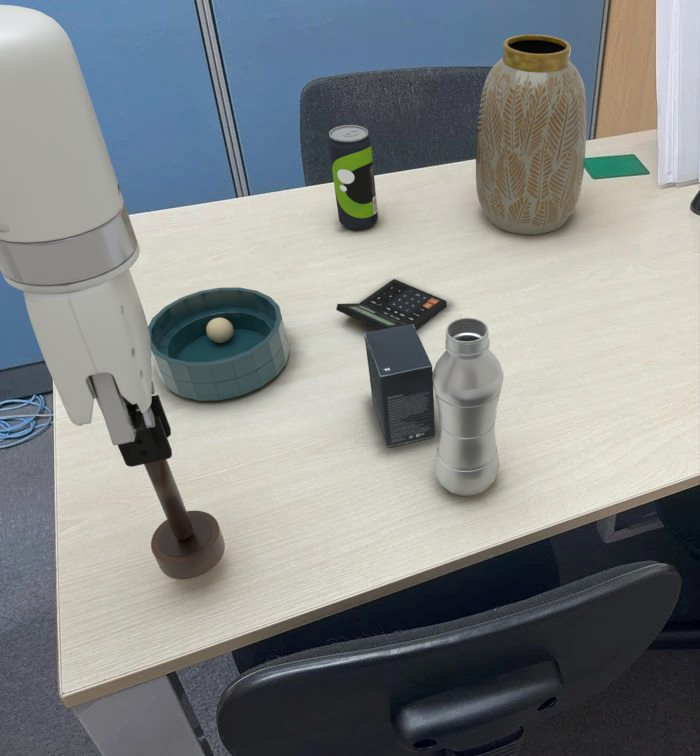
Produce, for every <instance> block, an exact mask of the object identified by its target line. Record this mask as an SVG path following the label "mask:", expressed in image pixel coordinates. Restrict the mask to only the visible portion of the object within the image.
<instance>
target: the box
mask: <svg viewBox="0 0 700 756" xmlns="http://www.w3.org/2000/svg"><path fill="white" fill-rule="evenodd" d="M363 336H364V343H365V351H366V360H367V367H368V375H369V383H370V392H371V401H372V406H373V408H374V411H375V416H376V417H377V421H378V424H379V427H380V430H381V432H382V436H383V438H384V442H385V444H386V447H388V448H391V447H395V446H400V445H405V444H408V443H409V444H410V443H414V442H418V441H422V440H426V439H431V438H434V437H435V436H436V426H435V425H436V424H435V398H434V397H435V394H434V387H433V380H432V374H433V371H434V370H433V364H432V362H431V360H430V358H429V356H428V353H427V351H426V349H425V347H424V344H423V343H422V340H421V338H420V336H419V334H418V332H417V330H416V329H415V327H414V325H413V324H410V325H404V326H399V327H393V328H388V329H382V330H378V329H376V330H371V331H365V332H364V334H363Z"/></svg>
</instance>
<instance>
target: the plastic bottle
mask: <svg viewBox="0 0 700 756" xmlns="http://www.w3.org/2000/svg"><path fill="white" fill-rule="evenodd" d="M445 329H446V330H445V344H444V346H445V351H444V352H443V353H442V354H441V356H440V357H439V358H438V360H437V361H436V363H435V365H434V367H433V370H432V371H433V374H432V380H433V392H434V397H435V399H436V404H437V410H438V418H439V436H438V446H437V449H436V452H435V456H434V457H435V458H434V466H433V467H434V470H435V474H436V477H437V481H438V483H439V484H440V485H441V486H442V487H443V488H444V489H445V490H446V491H448V492H450V493H452V494H454V495H457V496H461V497H462V496H463V497H470V496H476V495H478V494H480V493H482V492H484V491H486V490H487V489H488V488H490V487H491V486H492V485H493V484H494V482H495V480H496V478H497V475H498V472H499V470H500V469H499V468H500V457H499V451H498V448H497V447H498V446H497V441H496V418H497V410H498V405H499V400H500V395H501V392H502V388H503V383H504V371H503V368H502V365H501V362H500V360H499V359H498V357H496V356H495V354H494V353H493V352H492V350H490V338H489V328H488V325H487V324H486V323H485V322H484V321H482V320H481V319H477V318H473V317H461V318H458V319H455V320H453V321H451V322H450V323H448V325H447V327H446V328H445Z"/></svg>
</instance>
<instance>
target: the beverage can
mask: <svg viewBox="0 0 700 756" xmlns="http://www.w3.org/2000/svg"><path fill="white" fill-rule="evenodd" d="M328 136H329V137H328V138H327V139H328V140H327V144H328V151H329V157H330V164H331V172H332V178H333V180H332V181H333V186H334V194H335V201H336V208H337V215H338V221H339V223H340V225H342V226H343V227H344V228H345V229H347V230H349V231H354V232H361V231H366V230H369V229H372V228H373V227H374V226H375V225H376V224H377V222H378V220H379V214H378V213H379V212H378V211H379V210H378V203H377V202H378V201H377V190H376V181H375V171H374V159H373V151H372V140H371V137H370V136H369V131H368V129H367V128H366V127H363V126H361V125H356V124H346V125H345V124H344V125H339V126H335V127H333V128H332V129H330V130H329V132H328Z"/></svg>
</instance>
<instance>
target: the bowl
mask: <svg viewBox="0 0 700 756" xmlns="http://www.w3.org/2000/svg"><path fill="white" fill-rule="evenodd" d="M215 318H224V319H227V320H228V321H229V322H230V323H231V324H232V326H233V330H234V332H233V336H232V337H231V339H230V340H228V341H227V342H224V343H216V342H214V341H212V340H211V339H210V338H209V337H208V336H207V333H206V327H207V325H208V323H209V322H210V321H211V320H212V319H215ZM148 329H149V335H150V344H151V360H152V361H153V364H154V366H155V369H156V371H157V375H158V377H159V379H160V380H161V382H162V384H163V385H164V386H165V388H166V389H167V390H169V391H171V392H172V393H174V394H176V395H177V396H179V397H182V398H185V399H186V398H187V399H189V400H190V399H191V400H195V401H199V402H200V401H222V400H227V399H232V398H237V397H241V396H244V395H247V394H249V393H252V392H254V391H256V390H258V389H260V388H262V387H264V386H265V385H267V384H268V383H269V382H270V381H272V380H273V379H275V378H276V377H277V376H279V374H280V373H281V371H282V370H283V369H284V367H285V366H286V365H287V363H288V359H289V358H288V357H289V354H290V347H289V343H288V338H287V333H286V329H285V324H284V320H283V316H282V312H281V308H280V306H279V304H278V303H277V302H276V301H275V300H274V299H273V298H272V297H271V296H269V295H267V294H264V293H263V292H261V291H258V290H255V289H250V288H244V287H237V286H235V287H234V286H233V287H216V288H210V289H209V288H208V289H204V290H199V291H196V292H194V293H190V294H188V295H185V296H181V297H179V298H178V299H176V300H174V301H173V302H171V303H169V304H167V305H165V306H164V307H163V308H162V309H160V311H159V312H157V313H156V314H155V315H154V316H153V317H152V318H151V320H150V322H149V324H148Z"/></svg>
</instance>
